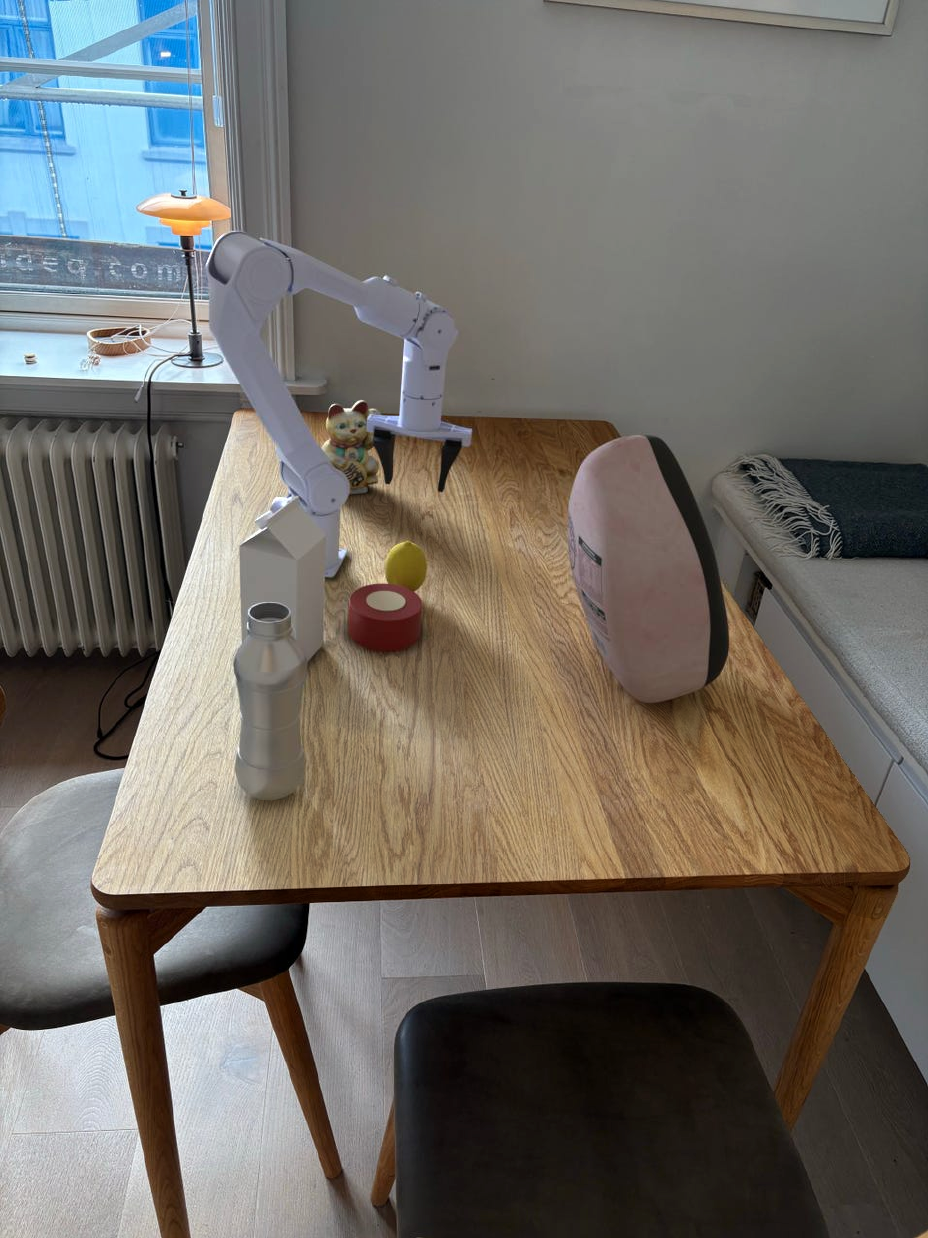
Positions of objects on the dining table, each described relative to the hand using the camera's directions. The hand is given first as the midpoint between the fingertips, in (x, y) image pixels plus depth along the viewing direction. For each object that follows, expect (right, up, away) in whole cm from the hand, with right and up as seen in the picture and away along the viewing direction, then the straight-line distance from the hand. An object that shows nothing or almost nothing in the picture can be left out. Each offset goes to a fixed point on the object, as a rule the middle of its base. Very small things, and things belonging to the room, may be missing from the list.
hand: (414, 485), depth 136 cm
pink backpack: (+27, -26, -19) cm, 42 cm away
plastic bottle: (-12, -36, -43) cm, 57 cm away
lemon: (-1, -16, -8) cm, 18 cm away
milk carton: (-15, -23, -23) cm, 36 cm away
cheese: (-3, -21, -17) cm, 27 cm away
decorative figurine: (-12, +3, +20) cm, 24 cm away
